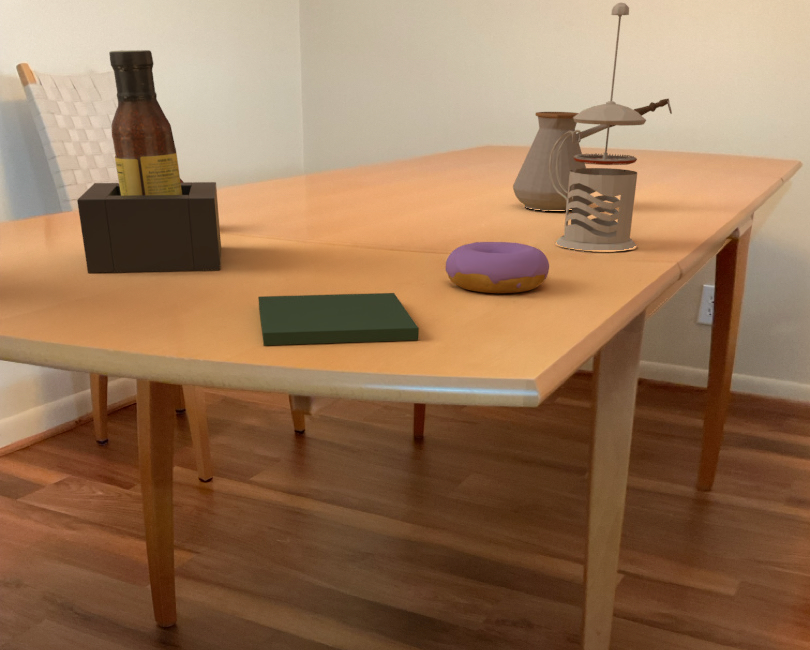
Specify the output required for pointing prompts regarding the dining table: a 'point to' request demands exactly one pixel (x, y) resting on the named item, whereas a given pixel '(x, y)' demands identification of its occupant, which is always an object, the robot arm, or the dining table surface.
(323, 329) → the mat
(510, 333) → the dining table surface
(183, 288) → the dining table surface
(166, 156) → the sauce bottle
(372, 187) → the dining table surface
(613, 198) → the french press
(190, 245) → the black open-top box
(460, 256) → the donut
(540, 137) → the coffee pot
